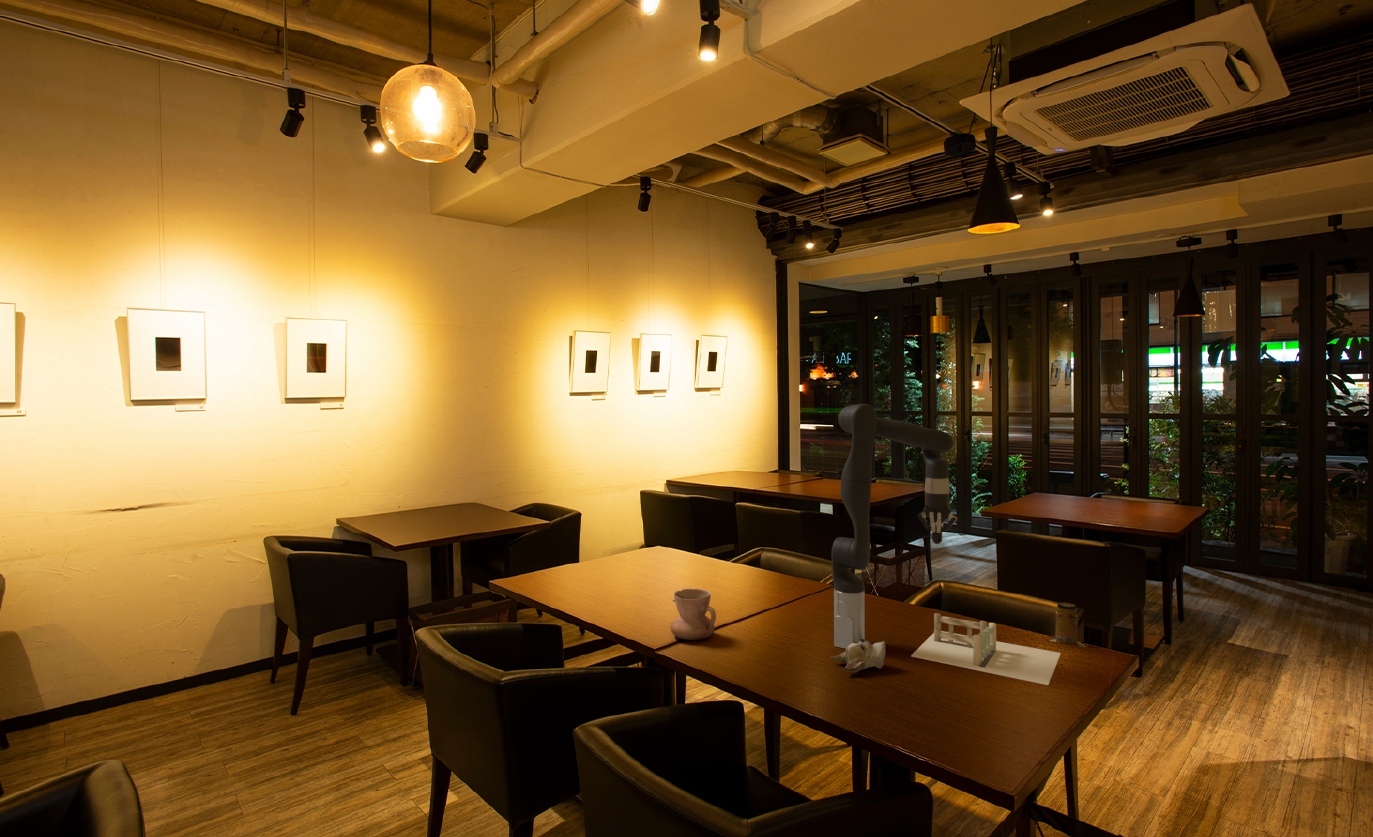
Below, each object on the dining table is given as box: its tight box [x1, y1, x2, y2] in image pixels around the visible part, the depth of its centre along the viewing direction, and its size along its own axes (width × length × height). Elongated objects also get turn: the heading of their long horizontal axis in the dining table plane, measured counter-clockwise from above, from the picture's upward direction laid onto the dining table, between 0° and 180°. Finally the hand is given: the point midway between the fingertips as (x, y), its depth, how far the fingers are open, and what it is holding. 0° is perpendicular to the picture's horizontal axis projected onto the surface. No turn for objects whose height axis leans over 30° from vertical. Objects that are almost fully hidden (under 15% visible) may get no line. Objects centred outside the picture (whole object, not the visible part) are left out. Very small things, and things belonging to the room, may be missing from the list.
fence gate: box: [972, 622, 997, 665], centre depth 194 cm, size 16×2×8 cm, turn 139°
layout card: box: [910, 630, 1061, 686], centre depth 197 cm, size 28×36×1 cm
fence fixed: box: [933, 612, 988, 647], centre depth 205 cm, size 16×2×8 cm, turn 55°
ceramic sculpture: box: [829, 638, 886, 673], centre depth 188 cm, size 11×9×15 cm
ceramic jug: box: [669, 588, 717, 641], centre depth 214 cm, size 18×14×14 cm
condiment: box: [1048, 602, 1088, 648], centre depth 207 cm, size 7×8×12 cm
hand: (936, 543), depth 220 cm, fingers closed
